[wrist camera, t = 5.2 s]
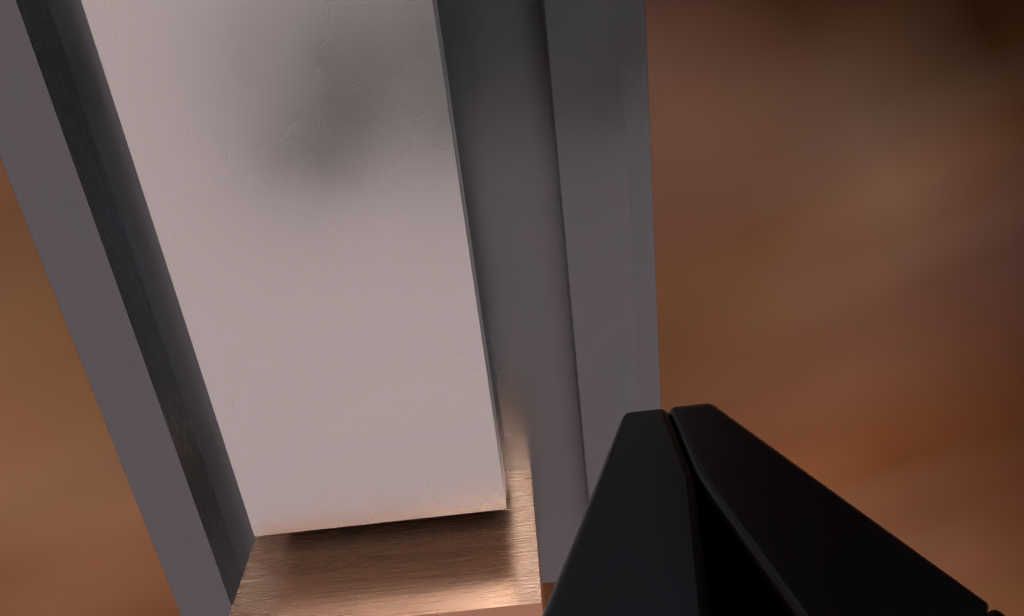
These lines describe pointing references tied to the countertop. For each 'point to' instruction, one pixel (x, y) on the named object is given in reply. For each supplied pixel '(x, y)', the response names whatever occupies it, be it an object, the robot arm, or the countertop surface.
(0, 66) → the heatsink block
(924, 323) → the countertop surface
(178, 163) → the bar
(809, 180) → the countertop surface
